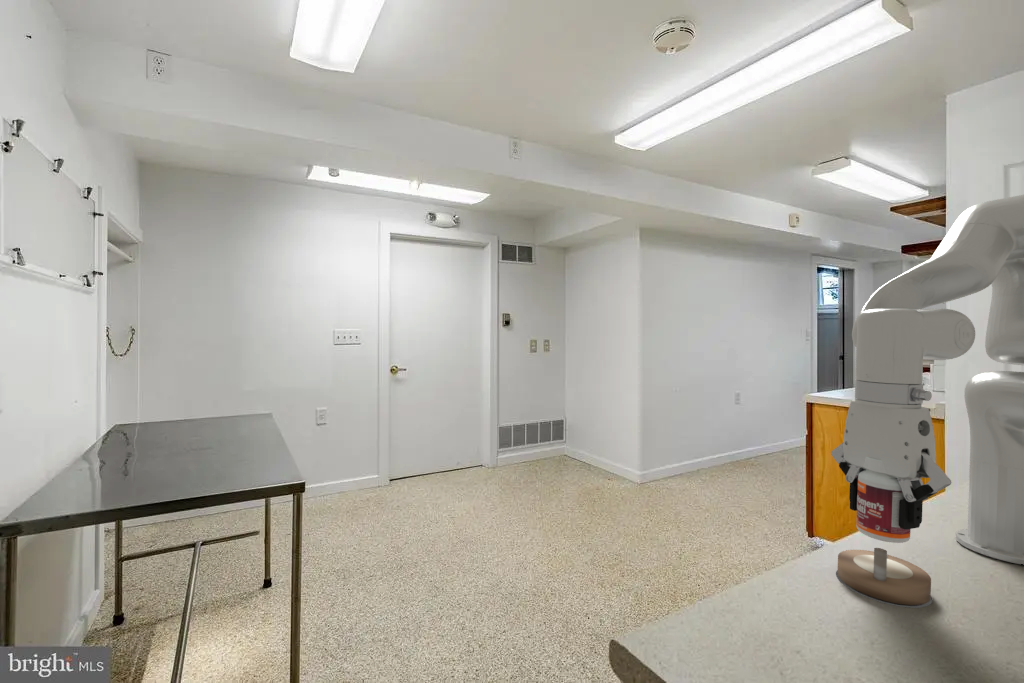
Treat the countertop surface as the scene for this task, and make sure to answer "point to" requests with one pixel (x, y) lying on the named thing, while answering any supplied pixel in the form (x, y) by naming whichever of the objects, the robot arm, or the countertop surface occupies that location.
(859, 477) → the pill bottle
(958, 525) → the countertop surface
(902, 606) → the base
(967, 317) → the robot arm
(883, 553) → the turntable
